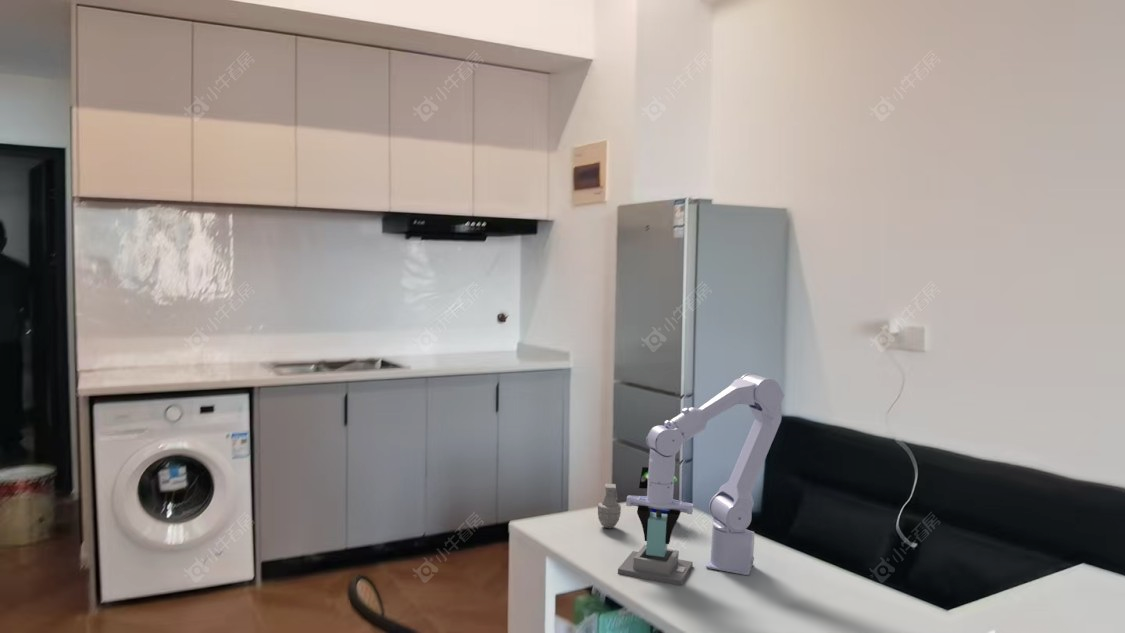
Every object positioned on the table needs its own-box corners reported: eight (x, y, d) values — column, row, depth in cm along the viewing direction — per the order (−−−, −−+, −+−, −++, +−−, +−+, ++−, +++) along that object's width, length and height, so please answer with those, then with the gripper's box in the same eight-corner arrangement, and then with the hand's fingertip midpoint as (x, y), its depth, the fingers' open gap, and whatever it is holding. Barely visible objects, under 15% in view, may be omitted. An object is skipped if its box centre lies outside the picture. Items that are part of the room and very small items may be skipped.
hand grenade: (620, 532, 196) (622, 489, 195) (597, 530, 196) (599, 488, 195) (618, 523, 202) (621, 482, 201) (596, 522, 202) (598, 480, 201)
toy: (657, 511, 214) (660, 458, 213) (682, 520, 207) (685, 465, 206) (634, 517, 208) (637, 462, 207) (659, 526, 201) (663, 470, 200)
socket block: (692, 566, 175) (693, 551, 175) (681, 585, 164) (682, 569, 164) (632, 555, 180) (633, 540, 180) (617, 573, 169) (618, 557, 169)
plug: (667, 549, 174) (669, 507, 173) (664, 557, 169) (666, 514, 168) (649, 546, 175) (651, 505, 174) (645, 554, 170) (648, 512, 169)
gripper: (695, 480, 173) (692, 539, 173) (631, 472, 176) (628, 531, 177) (692, 488, 166) (688, 550, 167) (626, 480, 170) (622, 541, 170)
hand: (657, 541), depth 172 cm, fingers closed on plug, 4 cm apart
